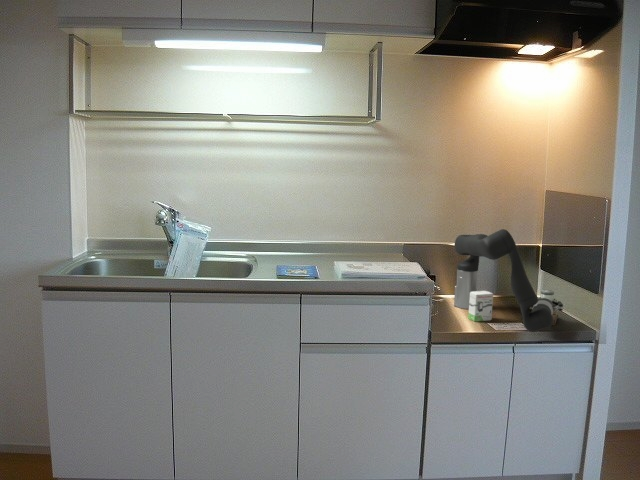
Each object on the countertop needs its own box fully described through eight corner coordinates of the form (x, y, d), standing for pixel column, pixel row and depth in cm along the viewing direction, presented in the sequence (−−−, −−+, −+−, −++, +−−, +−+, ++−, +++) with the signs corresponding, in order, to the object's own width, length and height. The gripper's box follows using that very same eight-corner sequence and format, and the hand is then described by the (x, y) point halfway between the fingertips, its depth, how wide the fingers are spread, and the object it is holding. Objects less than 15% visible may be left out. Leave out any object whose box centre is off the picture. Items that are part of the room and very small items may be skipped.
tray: (532, 322, 225) (533, 317, 225) (536, 314, 236) (536, 310, 236) (554, 325, 221) (555, 320, 221) (557, 317, 232) (557, 313, 232)
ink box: (474, 321, 224) (476, 294, 223) (467, 318, 229) (469, 291, 227) (492, 320, 227) (493, 293, 225) (485, 316, 232) (486, 290, 230)
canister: (538, 317, 226) (540, 291, 225) (539, 314, 231) (541, 289, 229) (551, 319, 224) (553, 293, 222) (552, 316, 228) (554, 290, 227)
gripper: (563, 303, 210) (566, 293, 225) (524, 298, 217) (530, 289, 231) (561, 321, 211) (564, 311, 226) (523, 316, 218) (528, 306, 233)
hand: (547, 300), depth 229 cm, fingers closed on canister, 5 cm apart
